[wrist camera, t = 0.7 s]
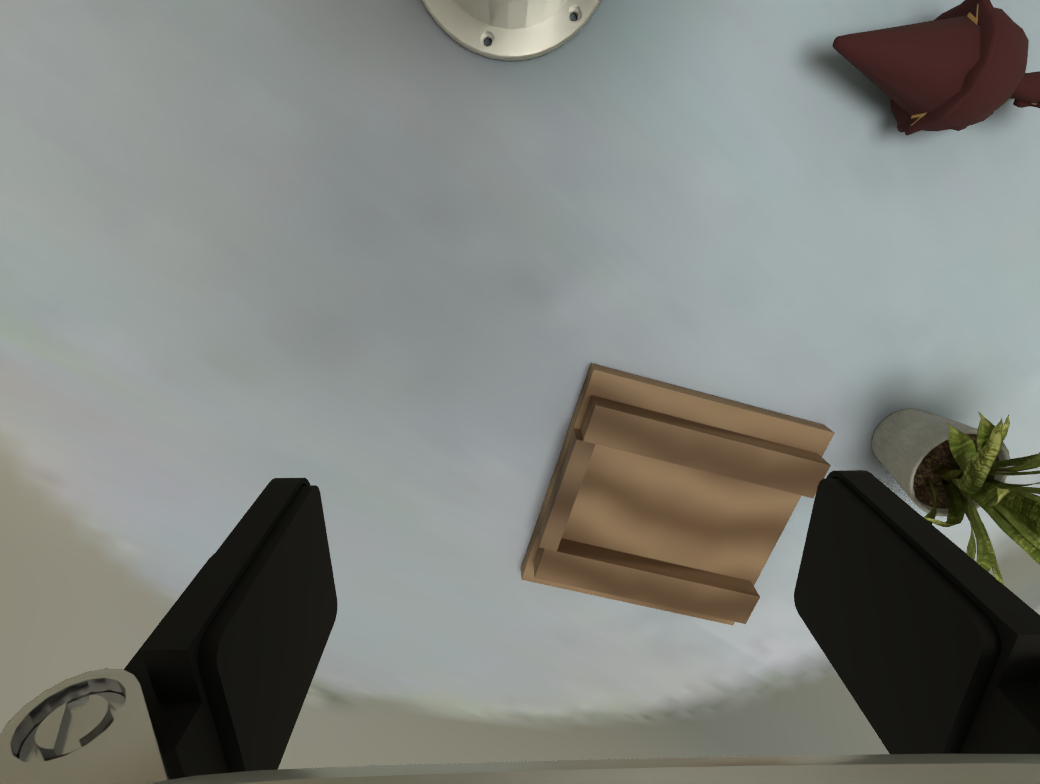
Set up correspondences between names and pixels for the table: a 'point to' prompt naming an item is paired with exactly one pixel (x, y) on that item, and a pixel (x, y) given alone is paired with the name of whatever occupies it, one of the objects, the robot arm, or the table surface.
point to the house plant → (962, 477)
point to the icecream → (947, 67)
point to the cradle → (671, 496)
